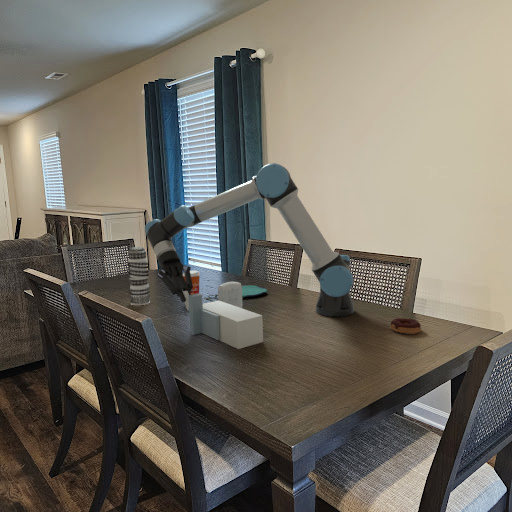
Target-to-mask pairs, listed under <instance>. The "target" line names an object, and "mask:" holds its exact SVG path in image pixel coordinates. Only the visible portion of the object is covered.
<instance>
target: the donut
mask: <svg viewBox="0 0 512 512" xmlns="http://www.w3.org/2000/svg"><path fill="white" fill-rule="evenodd" d="M421 326H422V325H421V323H420V322H419V321H418V320H415V318H414V319H413V318H403V317H402V318H399V317H398V318H394V319H392V321H391V322H390V329H391V330H392V331H393V330H394V331H393V332H395V331H396V332H395V333H398V332H400V333H399V334H402V333H417V332H419V333H420V332H422V328H421ZM417 334H418V333H417Z"/></svg>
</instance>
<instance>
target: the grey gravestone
mask: <svg viewBox="0 0 512 512" xmlns="http://www.w3.org/2000/svg"><path fill="white" fill-rule="evenodd" d="M242 286H243V285H242V284H241V282H238V281H227V282H224V283H221V284H220V285H218V288H217V293H218V294H217V295H218V296H217V298H218V299H217V301H222V302H225V303H228V304H231V305H233V306H236V307H239V308H242V309H243V298H242Z"/></svg>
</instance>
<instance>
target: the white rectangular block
mask: <svg viewBox="0 0 512 512" xmlns="http://www.w3.org/2000/svg"><path fill="white" fill-rule="evenodd" d="M203 309H204V310H206V311H209V312H211V313H214V314H216V315H219V332H220V339H219V340H218V341H220V342H222V343H224V344H226V345H227V346H231V347H233V348H235V349H237V350H241V349H243V348H246V347H250V346H254V345H258V344H261V343H263V342H264V333H263V332H264V331H263V329H264V328H263V324H264V323H263V315H262V314H259V313H257V312H253V311H250V310H247V309H244V308H243V307H242V308H239V307H236V306H233V305H231V304H228V303H225V302H222V301H218V300H214V302H212V301H210V302H204V303H203Z"/></svg>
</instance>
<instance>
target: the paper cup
mask: <svg viewBox="0 0 512 512" xmlns="http://www.w3.org/2000/svg"><path fill="white" fill-rule="evenodd" d="M182 273H183V277H184V279H185V273H184V271H182ZM190 275H191V280H192V284H193V288H192V290H191V292H190V293H191V295H194V294H200V275H201V273H200V271H198V270H190ZM185 281H186V279H185Z"/></svg>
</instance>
